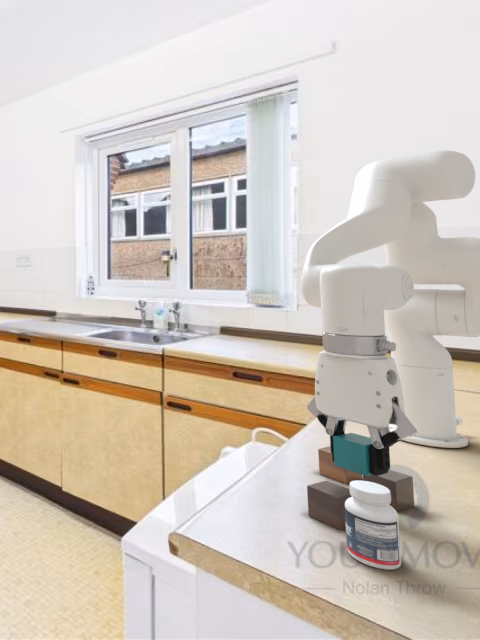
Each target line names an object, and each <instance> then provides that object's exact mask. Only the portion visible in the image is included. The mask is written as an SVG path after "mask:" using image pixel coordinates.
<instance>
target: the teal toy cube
mask: <svg viewBox="0 0 480 640" xmlns="http://www.w3.org/2000/svg"><path fill="white" fill-rule="evenodd" d="M333 443H334V463H335V466H338V467H341V468H344V469H347V470H350V471H353V472H356V473H359V474H362V476H363V475H365V476H369V475H372V474H371V473H370V461H369V447H372V446H373V444H372V440H371V437H370V436H365V435H361V434H358V433H354V432H349V433H345V434H343V435H338V436H333Z"/></svg>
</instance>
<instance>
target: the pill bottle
mask: <svg viewBox="0 0 480 640" xmlns="http://www.w3.org/2000/svg"><path fill="white" fill-rule="evenodd" d="M349 489H350V495H351V496H352V497H350V498H348V499H347V500H346V501H345V519H346V528H345V536H346V539H345V540H346V550H347V552H348V554H349V556H351V558H353V559H355V560H356V561H358V562H359V563H362V564H363V565H366V566H369V567H373V568H376V569H381V570H390V571H391V570H396V569H399V568H401V566H402V557H401V543H400V527H399V526H400V524H399V514H398V511H396V510H395V509H394V508H393V507H392V506H390V505H389V504H390V503H391V493H390V490H389V489H388V488H386V487H385V486H382V485H380V484H377V483H373V482H369V481H363V480H356V481H351V482H350V483H349Z"/></svg>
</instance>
